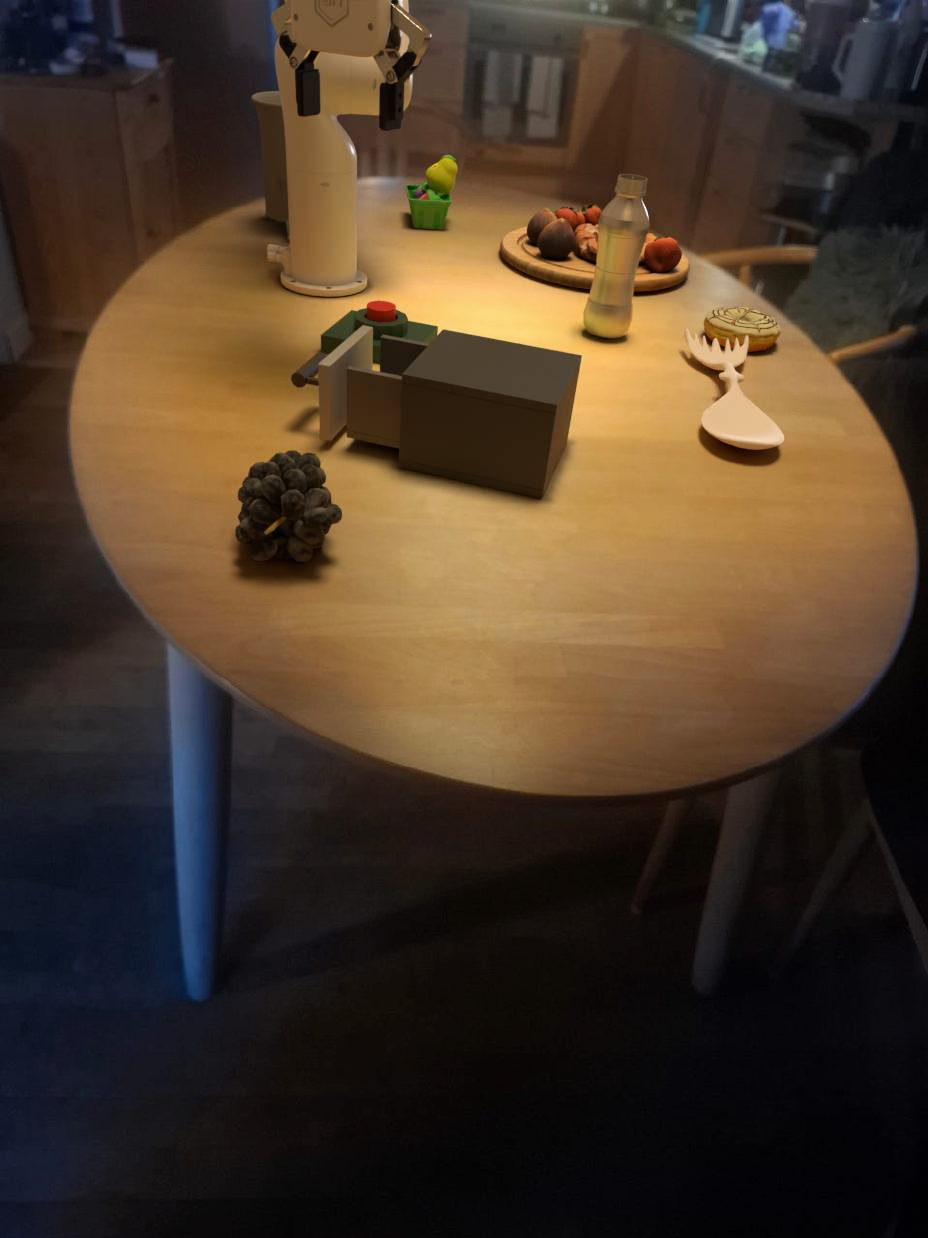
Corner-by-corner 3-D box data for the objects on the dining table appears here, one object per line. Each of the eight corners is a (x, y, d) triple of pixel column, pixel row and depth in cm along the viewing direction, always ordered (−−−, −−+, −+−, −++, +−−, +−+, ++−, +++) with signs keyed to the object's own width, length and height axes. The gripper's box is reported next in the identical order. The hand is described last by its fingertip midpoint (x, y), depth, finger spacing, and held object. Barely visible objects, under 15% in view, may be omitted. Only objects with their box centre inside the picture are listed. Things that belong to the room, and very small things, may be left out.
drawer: (280, 430, 88) (276, 355, 83) (326, 387, 97) (324, 317, 92) (447, 466, 85) (453, 390, 80) (478, 418, 94) (485, 348, 89)
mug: (333, 247, 141) (331, 68, 125) (244, 237, 141) (231, 57, 126) (354, 218, 156) (354, 54, 140) (273, 209, 156) (264, 45, 140)
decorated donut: (786, 341, 124) (794, 315, 121) (760, 362, 116) (768, 334, 114) (718, 321, 128) (726, 295, 125) (689, 339, 121) (696, 313, 118)
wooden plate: (727, 283, 143) (741, 230, 138) (582, 306, 128) (592, 248, 123) (601, 230, 163) (609, 183, 158) (462, 245, 148) (466, 193, 143)
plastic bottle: (627, 346, 117) (659, 186, 104) (577, 339, 117) (604, 178, 105) (629, 330, 122) (660, 175, 109) (582, 323, 122) (608, 168, 110)
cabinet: (398, 467, 86) (401, 373, 80) (437, 415, 96) (442, 328, 89) (542, 498, 83) (557, 404, 77) (567, 442, 93) (582, 355, 87)
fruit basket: (403, 212, 161) (406, 145, 154) (450, 215, 163) (455, 149, 155) (407, 229, 153) (410, 159, 145) (456, 232, 154) (462, 162, 147)
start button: (362, 321, 106) (362, 307, 105) (372, 312, 109) (372, 298, 108) (389, 326, 106) (390, 312, 105) (399, 317, 108) (400, 303, 107)
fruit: (260, 395, 75) (248, 477, 63) (350, 424, 78) (355, 509, 66) (235, 478, 80) (220, 569, 68) (321, 503, 83) (321, 595, 71)
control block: (320, 352, 107) (320, 320, 104) (351, 326, 114) (351, 295, 112) (412, 370, 105) (413, 338, 102) (437, 342, 112) (439, 312, 110)
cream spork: (743, 356, 117) (750, 331, 115) (786, 468, 92) (797, 439, 90) (677, 348, 118) (683, 323, 116) (703, 458, 93) (711, 428, 91)
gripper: (242, -108, 76) (256, 113, 87) (411, -96, 71) (404, 138, 81) (293, -100, 82) (300, 107, 92) (453, -88, 76) (441, 131, 87)
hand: (348, 122), depth 87 cm, fingers open, 9 cm apart
